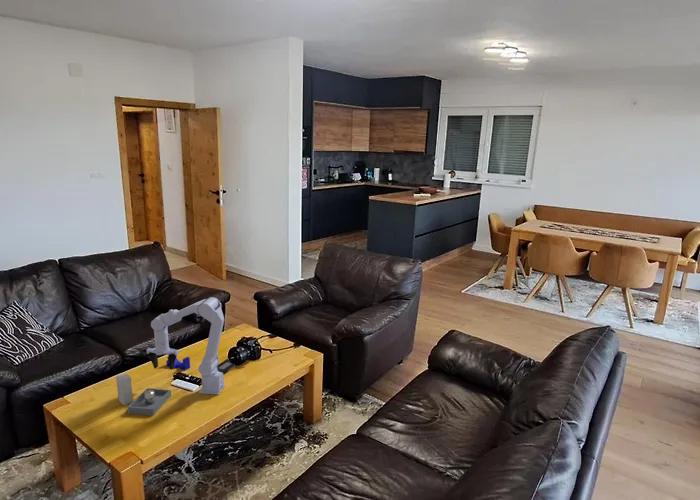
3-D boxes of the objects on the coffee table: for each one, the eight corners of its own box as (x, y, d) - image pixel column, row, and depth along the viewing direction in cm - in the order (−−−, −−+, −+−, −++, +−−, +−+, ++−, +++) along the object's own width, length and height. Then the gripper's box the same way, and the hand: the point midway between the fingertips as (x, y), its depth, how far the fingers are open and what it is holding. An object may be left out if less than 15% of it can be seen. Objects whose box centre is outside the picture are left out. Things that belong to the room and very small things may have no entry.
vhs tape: (240, 364, 233) (239, 361, 233) (222, 377, 221) (221, 373, 220) (228, 361, 236) (228, 358, 236) (210, 373, 223) (209, 370, 223)
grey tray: (171, 395, 202) (170, 389, 202) (153, 415, 188) (152, 409, 187) (147, 394, 203) (147, 388, 203) (128, 413, 189) (127, 407, 188)
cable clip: (166, 366, 230) (165, 355, 228) (173, 362, 233) (172, 351, 232) (183, 371, 224) (182, 360, 223) (190, 368, 228) (189, 357, 227)
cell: (156, 400, 197) (155, 388, 196) (152, 405, 193) (151, 393, 192) (148, 399, 197) (147, 388, 196) (143, 404, 194) (142, 393, 192)
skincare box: (133, 401, 197) (131, 377, 194) (123, 405, 194) (120, 380, 191) (128, 396, 201) (125, 372, 198) (118, 400, 198) (115, 375, 195)
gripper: (141, 343, 202) (144, 371, 205) (172, 345, 200) (174, 373, 203) (150, 337, 209) (152, 363, 212) (179, 339, 207) (181, 366, 210)
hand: (163, 368), depth 208 cm, fingers open, 7 cm apart
